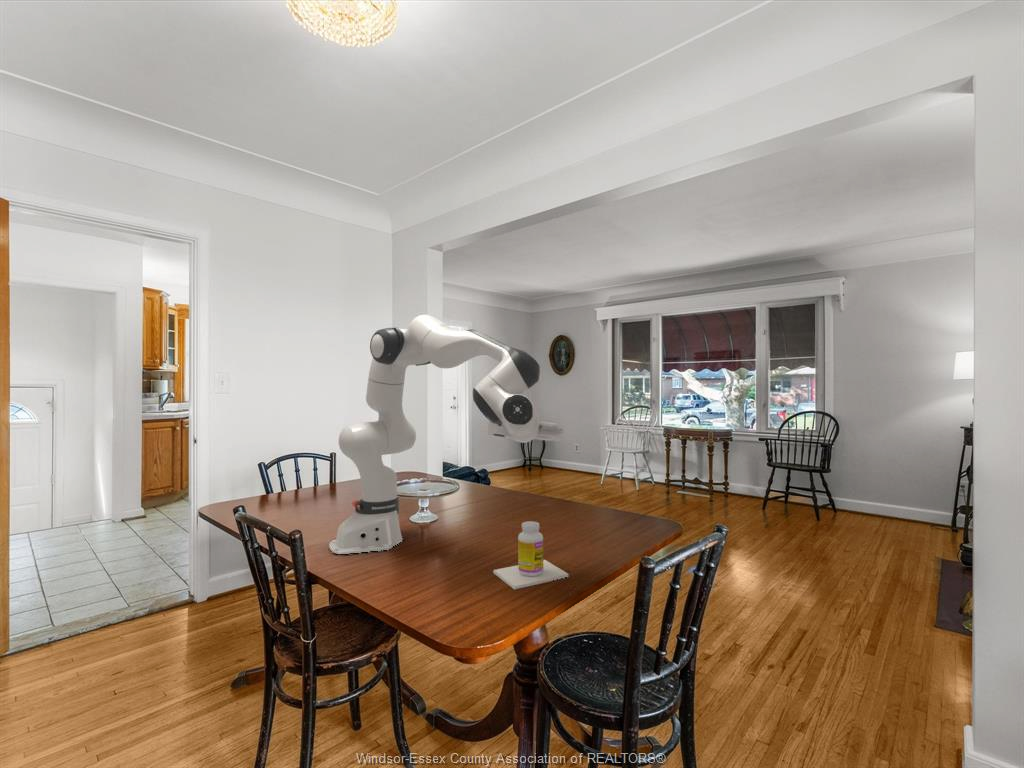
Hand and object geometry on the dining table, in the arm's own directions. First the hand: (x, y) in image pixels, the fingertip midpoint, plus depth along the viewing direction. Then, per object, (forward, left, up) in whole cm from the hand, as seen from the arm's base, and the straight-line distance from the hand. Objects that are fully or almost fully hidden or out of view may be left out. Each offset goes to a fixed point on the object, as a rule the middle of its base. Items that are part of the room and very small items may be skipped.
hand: (526, 435), depth 141 cm
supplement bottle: (-5, -10, -35) cm, 37 cm away
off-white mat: (-5, -10, -36) cm, 37 cm away
